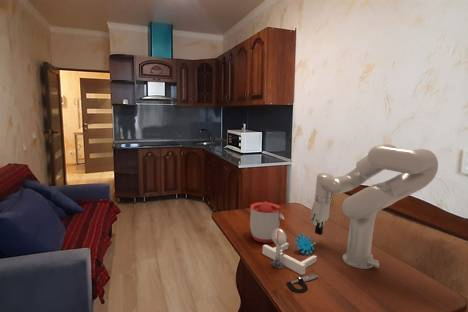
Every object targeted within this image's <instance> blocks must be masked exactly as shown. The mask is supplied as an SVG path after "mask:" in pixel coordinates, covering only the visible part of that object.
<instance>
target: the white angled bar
mask: <svg viewBox="0 0 468 312" xmlns="http://www.w3.org/2000/svg"><path fill="white" fill-rule="evenodd" d="M289 246H290V243H289V242H287V241H286V243H285V244H284V245H282V246H281V250H282V249H285V251H286V250H288V249H289ZM262 254H263V255H264V256H266V257H268V258H269V259H271V260H272V261H274V260H275V255H276V246H274V247H272V246H270V245H268V244H264V245H262ZM280 263H282V264H283V265H284V267H286V268H287V269H290V270H291V271H293V272H294V273H295V272H296V273H297V274H299V275H301V276H304V275H305V274H306V269H307V268H308V267H309V266H311V265H313V264H314V263H317V256H316V255H312V256H309V257H307V258H305V259H303V260H302V261H299V260H298V259H296V258H294V257H292V256H289V255H287V253H283V252H281V253H280Z"/></svg>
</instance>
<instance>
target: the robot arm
mask: <svg viewBox="0 0 468 312" xmlns="http://www.w3.org/2000/svg"><path fill="white" fill-rule="evenodd" d="M355 166H356V167H355V168H354V169H353V170H351V171H349V172H348V173H346V174H345V175H341V176H337V177H334V176H333V175H332V174H330V173H325V172H321V173H317V177H316V183H315V191H314V200H313V204H312V207H311V212H310V221H312V225H314V226H315V229H314V233H315V235H316V234H317V235H319V236H321V235H323V233H324V232H323V230H324V226H325V223H326V221H328V219H329V218H330V212H331V200H332V194H334V195H340V194H342V193H347V192H350V191H353V190H354V189H355V188H358V187H359V186H361V185H362V184H364V183H366V182H367V181H369V180H370V179H371V178H373V177H375V176H376V175H379V173H381V172H383V171H385V170H387V171H390V172H391V171H392V172H396V173H399V174H397V175H396V176H394V177H391V178H390V179H388V180H386V181H383V182H378V183H375V184H372V185H369V186H368V187H365V188H363V189H361V190H360V191H358V192H356V193H354V194H352V195H350V196H347V197H346V198H345V199H344V200H343V202H342V205H341V210H342V213H343V214H344V215H345V217H347V218H348V219H350V221H349V222H350V223H349V227H348V228H349V230H348V239H347V249H346V252H345V253H344V254H343V255H342V261H343V262H344V263H345V264H347V265H348V266H350V267H353V268H356V269H360V270H369V269H371V268H373V267H375V268H379V267H380V262H379V260H377V259H374V257H373V254H372V246H373V245H372V244H373V243H372V242H373V236H374V235H373V234H374V228H375V222H376V219H377V218H376V217H377V214H378V211H380V210H384V209H385V208H388V207H389V206H391V205H394V204H395V203H396V202H398V201H400V200H402V199H404V198H407V197H409V196H411V195H412V194H415V193H417V192H419V191H420V190H422V189H424V188H426V187H427V186H428V185H429V184H431V182H432V181H433V180H434V179H435V177H436V175H437V173H438V170H439V161H438V158H437V156H436V154H435V153H434V152H433V151H431V150H429V149H425V148H418V149H417V148H416V149H412V150H411V149H401V148H398V147H396V146H395V145H392V144H378V145H376V146H373V147H371V148H370V150H369V151H368V152H367V155H366V156H364V157H363V158H361V159H359V160H358V161H357V162H356V165H355Z"/></svg>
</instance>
